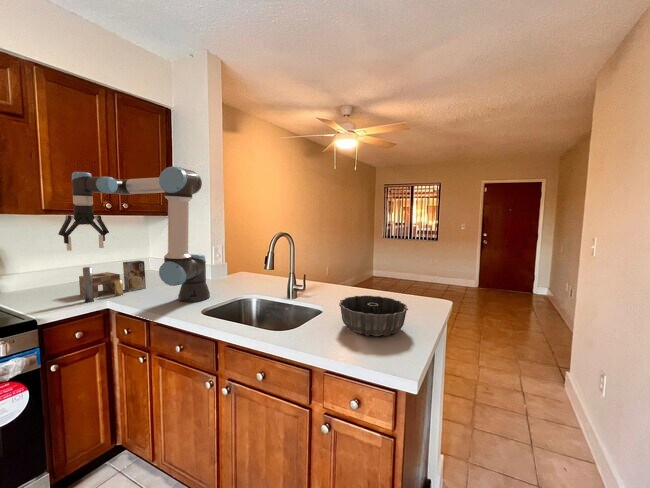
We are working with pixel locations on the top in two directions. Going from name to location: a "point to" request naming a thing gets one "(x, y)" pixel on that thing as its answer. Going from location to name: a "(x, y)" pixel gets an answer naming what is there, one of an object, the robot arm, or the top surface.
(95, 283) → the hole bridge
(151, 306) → the top surface
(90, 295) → the tall steel pin
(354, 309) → the bundt pan
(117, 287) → the short brass pin
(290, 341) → the top surface
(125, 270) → the coffee box
